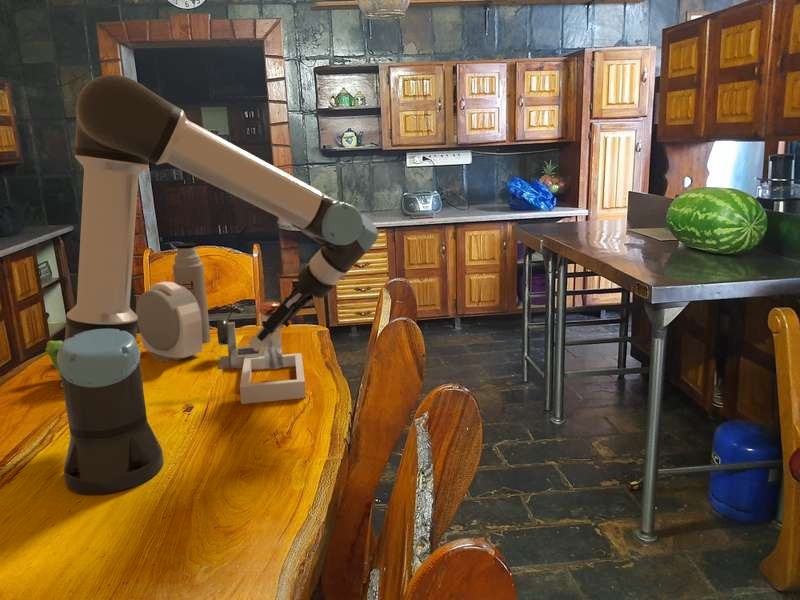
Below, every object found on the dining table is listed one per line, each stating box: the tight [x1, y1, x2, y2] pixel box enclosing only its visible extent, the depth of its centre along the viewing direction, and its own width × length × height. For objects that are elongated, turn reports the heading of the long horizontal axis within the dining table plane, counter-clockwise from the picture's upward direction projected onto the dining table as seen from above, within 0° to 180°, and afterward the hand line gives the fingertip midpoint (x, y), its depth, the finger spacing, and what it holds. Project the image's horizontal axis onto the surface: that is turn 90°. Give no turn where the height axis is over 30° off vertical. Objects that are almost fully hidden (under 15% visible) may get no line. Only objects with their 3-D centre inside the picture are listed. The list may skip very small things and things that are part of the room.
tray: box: [239, 352, 307, 405], centre depth 142 cm, size 20×14×4 cm
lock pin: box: [258, 301, 284, 370], centre depth 139 cm, size 5×5×15 cm
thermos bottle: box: [172, 242, 211, 345], centre depth 173 cm, size 8×8×28 cm
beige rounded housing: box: [135, 281, 203, 363], centre depth 159 cm, size 18×8×20 cm, turn 58°
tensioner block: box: [216, 318, 264, 370], centre depth 155 cm, size 13×14×11 cm
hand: (257, 343), depth 141 cm, fingers closed on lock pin, 4 cm apart
